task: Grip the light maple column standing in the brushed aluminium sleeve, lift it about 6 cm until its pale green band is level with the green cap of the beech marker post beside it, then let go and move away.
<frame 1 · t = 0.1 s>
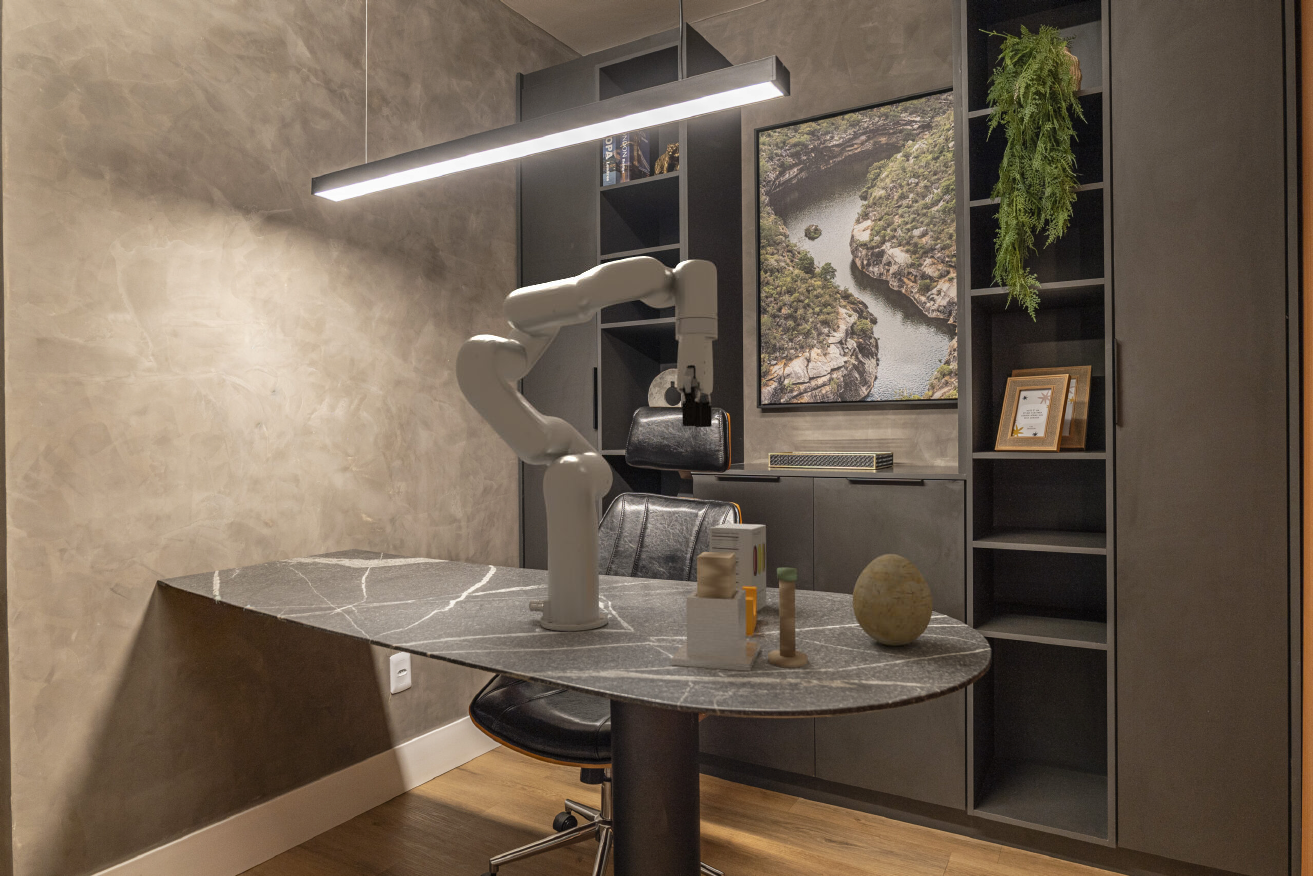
hand: (697, 426, 134), 37 cm above the table, tool pointing down, fingers open, 9 cm apart
marker post: (787, 661, 115), on the table
supplement box: (738, 609, 153), on the table
pipe clamp: (743, 629, 137), on the table
fossilized egg: (892, 645, 125), on the table
sleeve: (717, 656, 118), on the table
column: (716, 602, 118), point 9 cm above the table, slide at 0.0 cm
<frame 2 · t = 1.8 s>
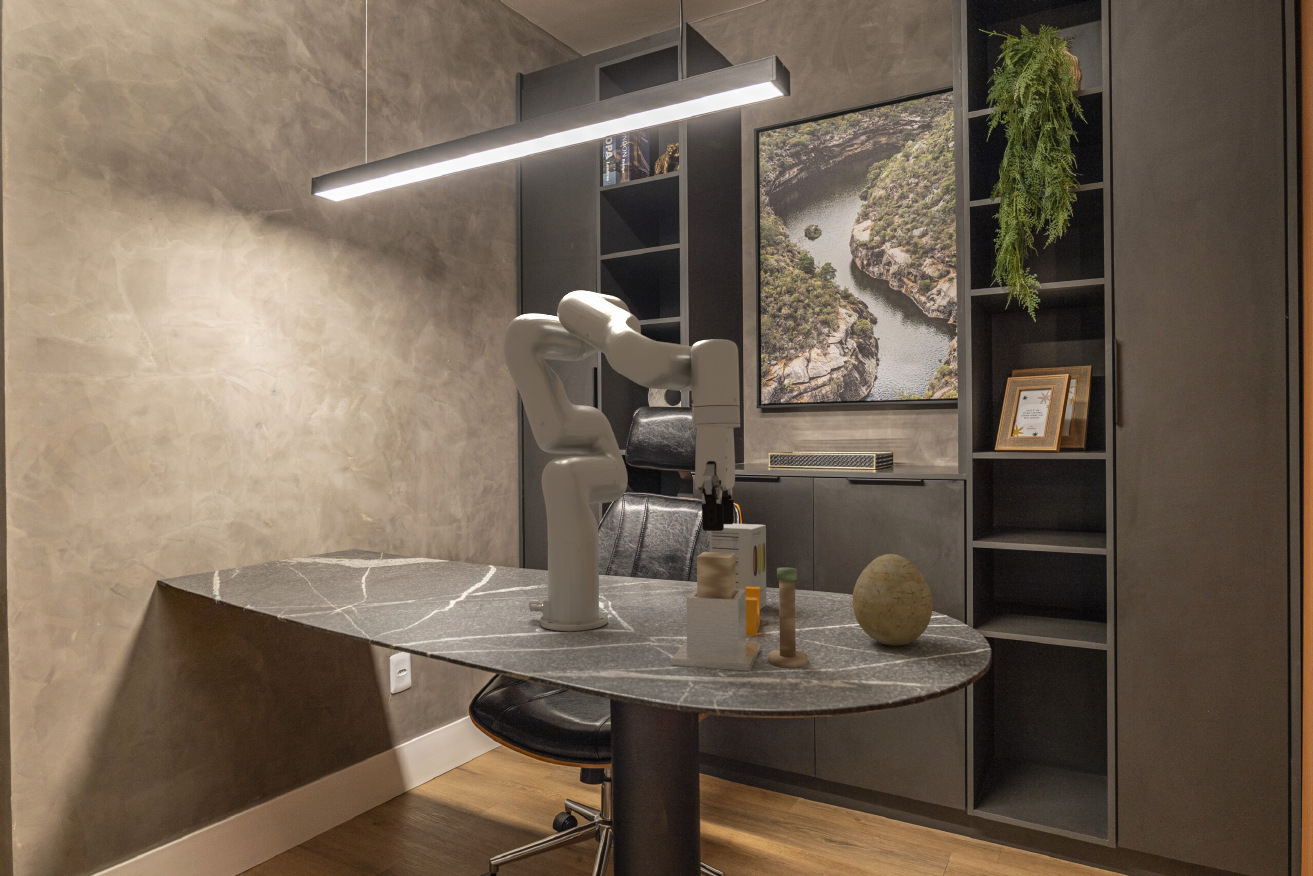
hand: (718, 527, 118), 20 cm above the table, tool pointing down, fingers open, 9 cm apart
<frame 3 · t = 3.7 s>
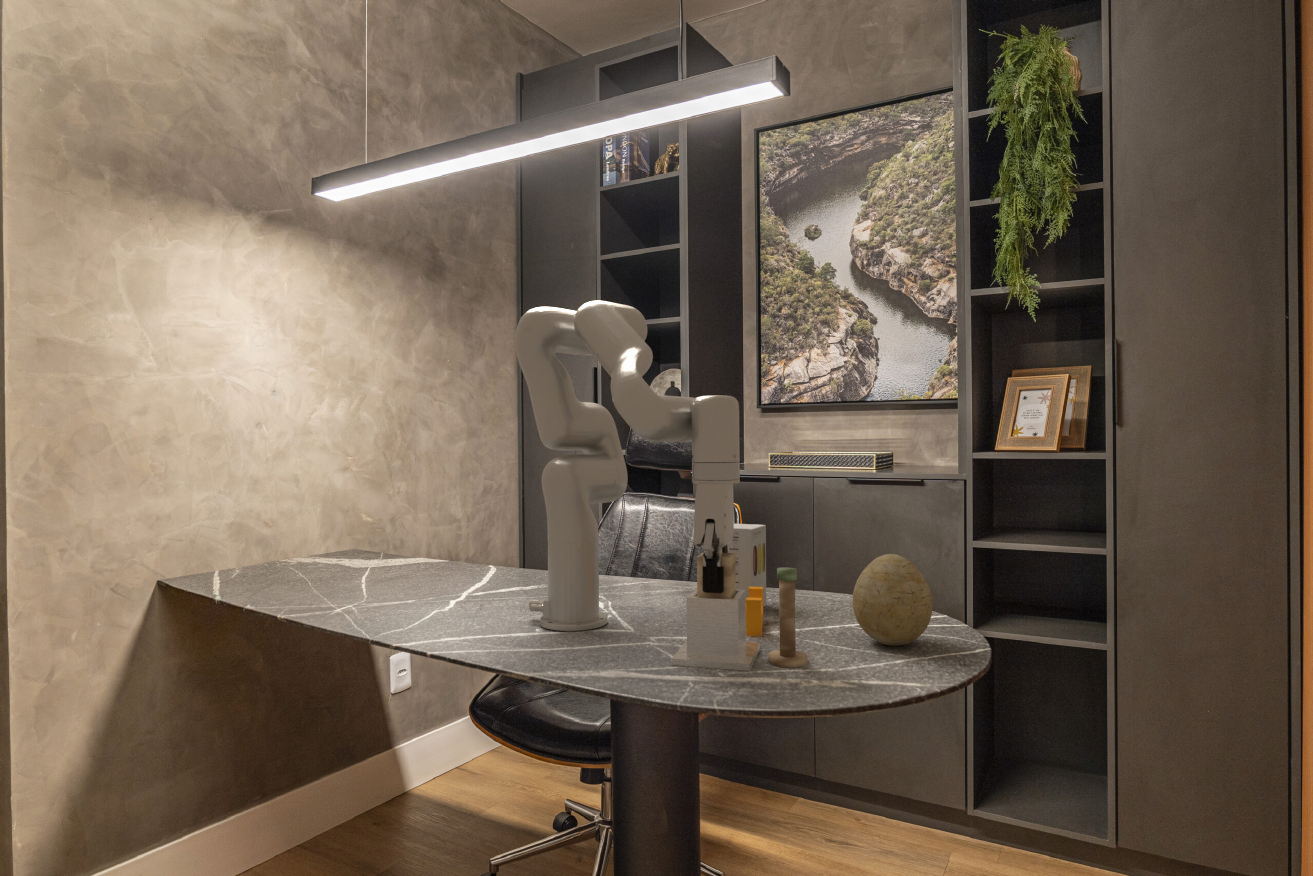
hand: (716, 587, 118), 11 cm above the table, tool pointing down, fingers closed on column, 5 cm apart
column: (716, 602, 118), point 9 cm above the table, slide at 0.0 cm, touching gripper
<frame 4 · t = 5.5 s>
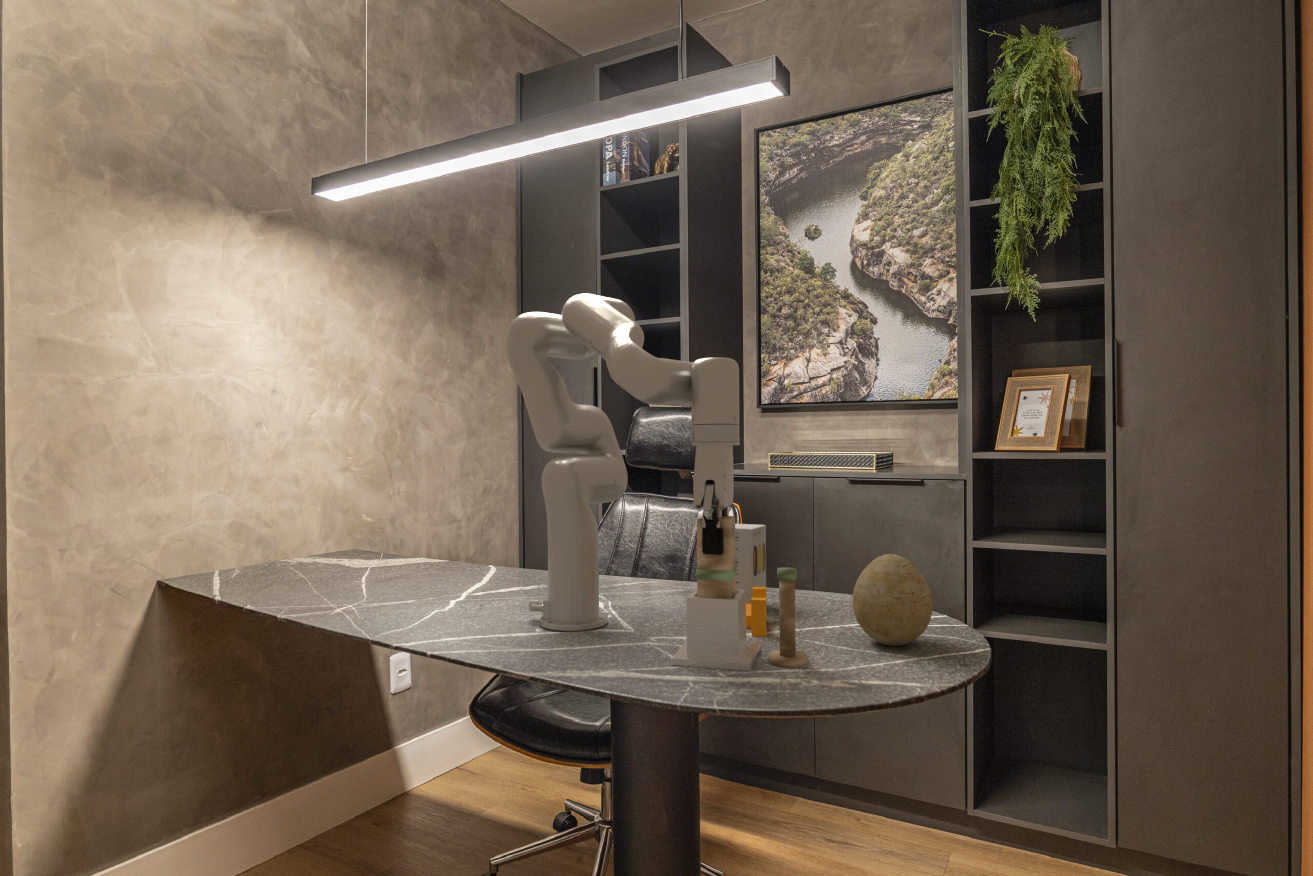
hand: (716, 550, 118), 17 cm above the table, tool pointing down, fingers closed on column, 5 cm apart
column: (716, 565, 118), point 14 cm above the table, slide at 5.9 cm, touching gripper
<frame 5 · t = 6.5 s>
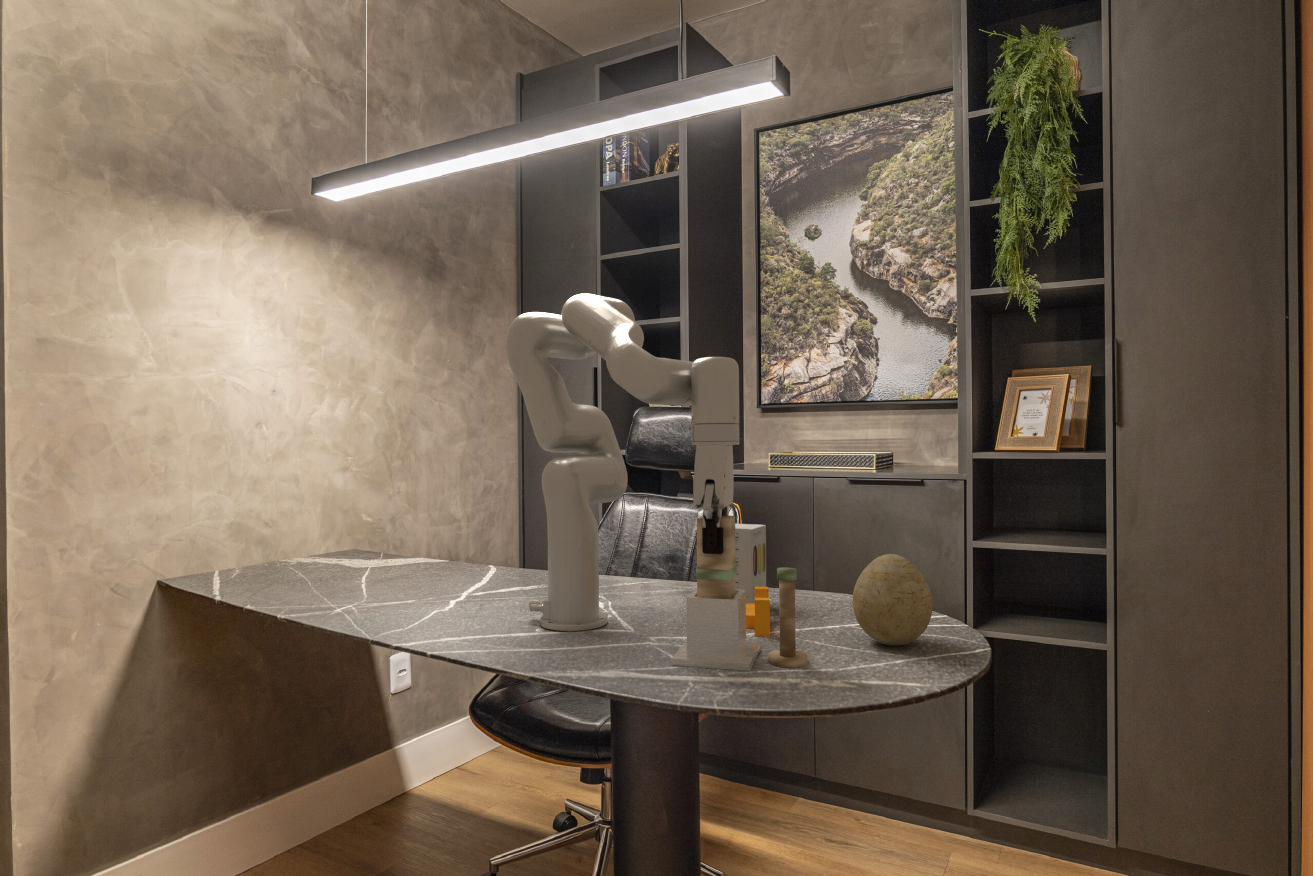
hand: (716, 549, 118), 17 cm above the table, tool pointing down, fingers closed on column, 5 cm apart
column: (716, 564, 118), point 15 cm above the table, slide at 6.0 cm, touching gripper
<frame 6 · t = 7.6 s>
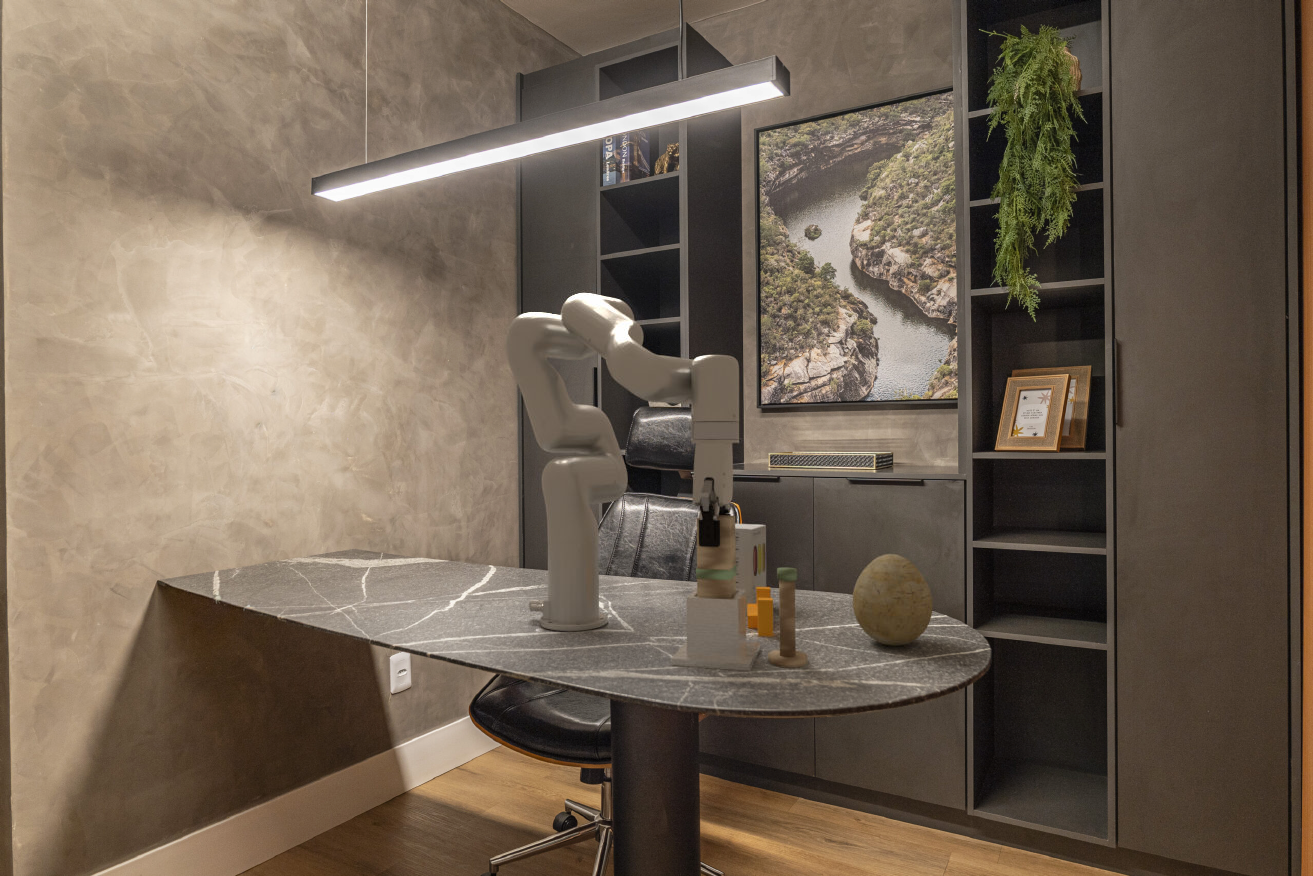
hand: (715, 542, 119), 18 cm above the table, tool pointing down, fingers open, 9 cm apart
column: (716, 564, 118), point 15 cm above the table, slide at 6.0 cm
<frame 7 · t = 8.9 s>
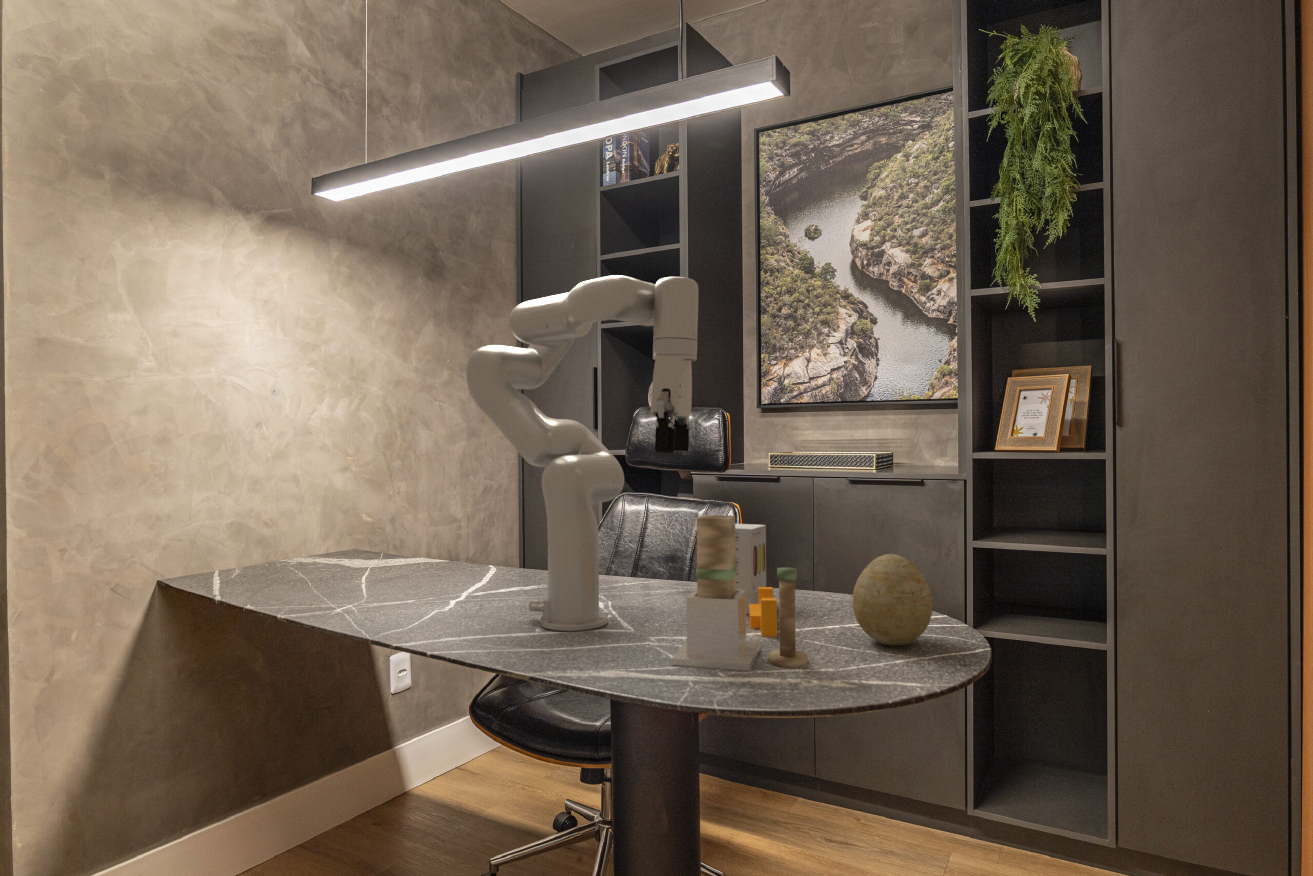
hand: (672, 451, 128), 32 cm above the table, tool pointing down, fingers open, 9 cm apart
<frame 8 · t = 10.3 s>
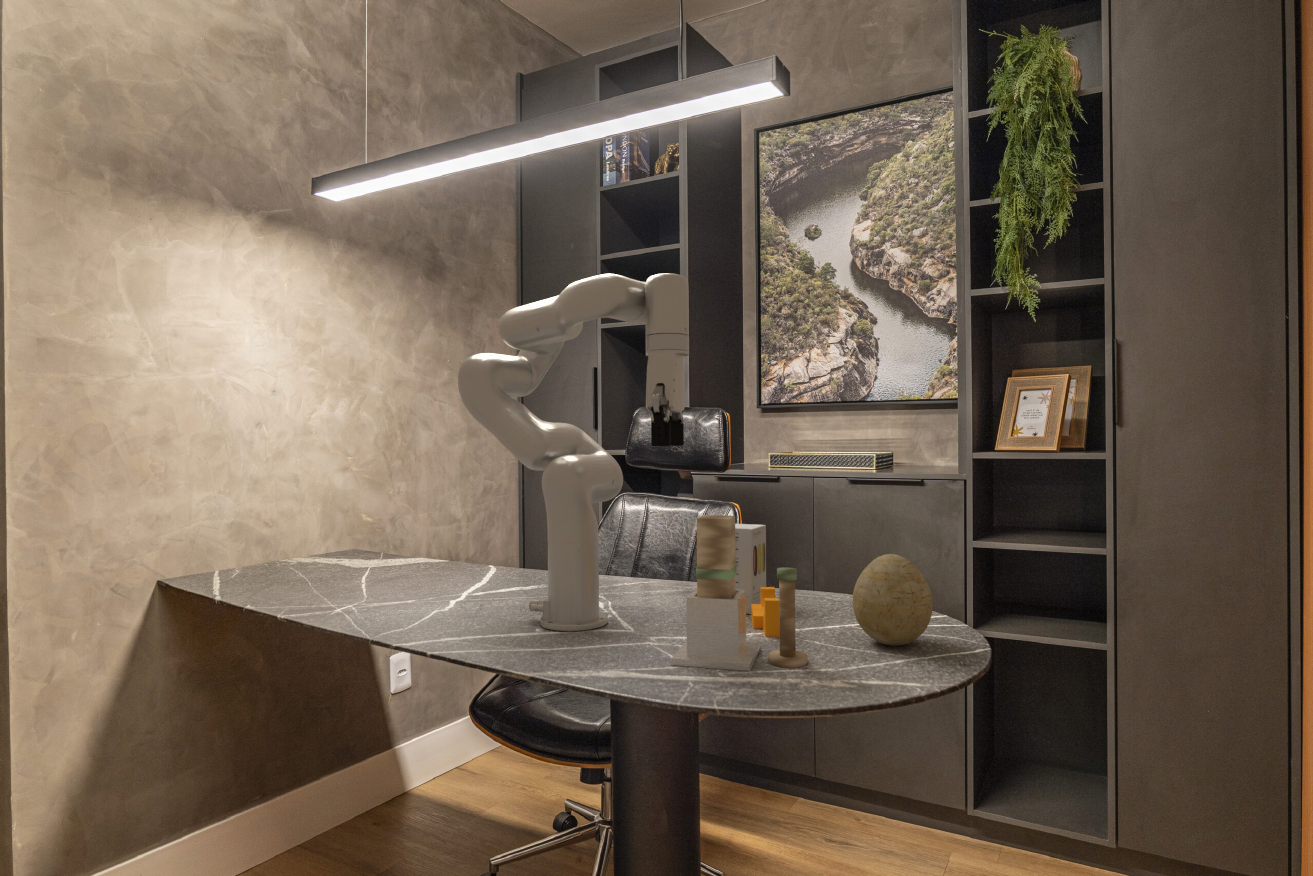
hand: (668, 445, 130), 33 cm above the table, tool pointing down, fingers open, 9 cm apart
at the end: column slide at 6.0 cm; the gripper is holding nothing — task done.
